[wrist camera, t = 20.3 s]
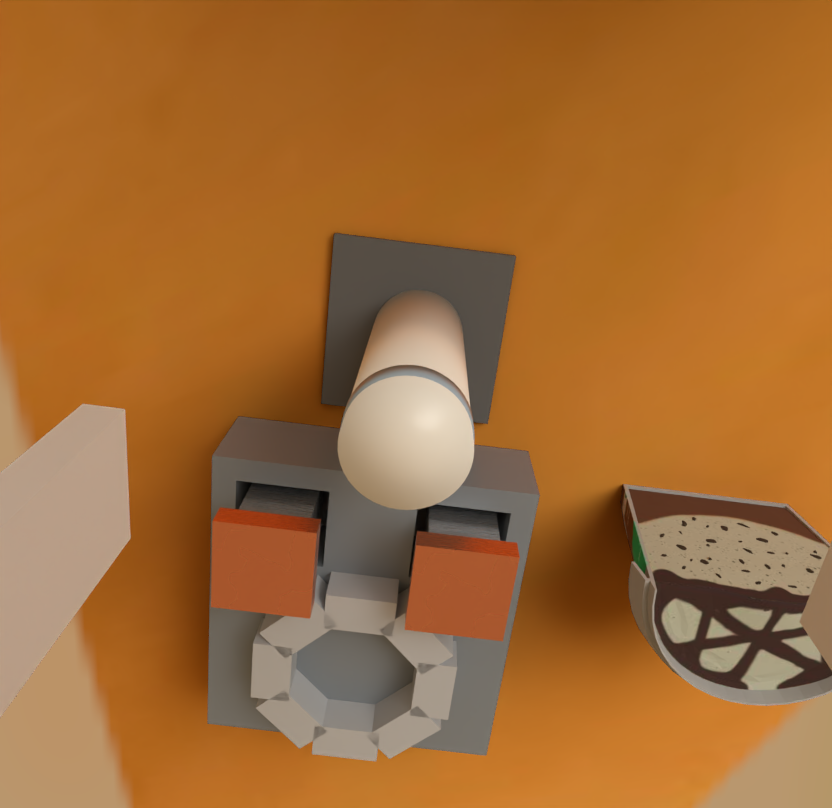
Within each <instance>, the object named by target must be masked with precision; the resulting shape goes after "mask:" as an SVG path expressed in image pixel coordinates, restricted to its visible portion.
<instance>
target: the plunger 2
mask: <svg viewBox="0 0 832 808" xmlns="http://www.w3.org/2000/svg"><path fill="white" fill-rule="evenodd" d="M519 559H520V556H519V551H518V545H517V543H515V542H506V541H500V535H499V528H498V521H497V514H496V512H495V511H487V510H478V509H470V508H461V507H453V506H445V505H436V504H435V505H433V506H429V507H427V512H426V519H425V526H424V532H422V531H417V535H416V542H415V549H414V556H413V564H412V571H411V578H410V585H409V593H408V600H407V607H406V615H405V630H410V631H419V632H427V633H436V634H444V635H453V636H461V637H470V638H479V639H487V640H496V641H503V638H504V633H505V628H506V623H507V618H508V613H509V608H510V603H511V598H512V593H513V588H514V583H515V579H516V574H517V569H518V564H519Z"/></svg>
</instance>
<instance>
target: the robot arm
mask: <svg viewBox="0 0 832 808" xmlns="http://www.w3.org/2000/svg"><path fill="white" fill-rule="evenodd" d="M130 538H131V535H130V512H129V488H128V465H127V441H126V418H125V409H121V408H113V407H105V406H97V405H89V404H82V405H81V406H79V407H78V408H77V409H76V410H75V411H73V412H72V413H71V414H70V415H69V416H67V417H66V418H65V419H64V420H63V421H61V422H60V423H59V424H58V425H57V426H55V427H54V428H53V429H52V430H51V431H49V432H48V433H47V434H46V435H45V436H43V437H42V438H41V439H40V440H39V441H37V442H36V443H35V444H34V445H33V446H31V447H30V448H29V449H28V450H27V451H25V452H24V453H23V454H22V455H21V456H19V457H18V458H17V459H16V460H15V461H14V462H12V463H11V464H10V465H9V466H7V467H6V468H5V469H4V470H3V471H1V472H0V717H1V716H2V715H3V713H4V712H5V710H6V709H7V707H8V706H9V705H10V703H11V702H12V701H13V699H14V698H15V697H16V695H17V694H18V692H19V691H20V690H21V688H22V687H23V686H24V684H25V683H26V681H27V680H28V678H29V677H30V676H31V675H32V673H33V672H34V670H35V669H36V668H37V666H38V665H39V664H40V662H41V661H42V659H43V658H44V657H45V655H46V654H47V652H48V651H49V650H50V648H51V647H52V646H53V644H54V643H55V642H56V640H57V639H58V637H59V636H60V635H61V633H62V632H63V631H64V629H65V628H66V626H67V625H68V624H69V622H70V621H71V620H72V618H73V617H74V615H75V614H76V613H77V611H78V610H79V609H80V607H81V606H82V604H83V603H84V602H85V600H86V599H87V598H88V596H89V595H90V593H91V592H92V591H93V589H94V588H95V587H96V585H97V584H98V582H99V581H100V580H101V578H102V577H103V576H104V574H105V573H106V571H107V570H108V569H109V567H110V566H111V565H112V563H113V562H114V560H115V559H116V558H117V556H118V555H119V554H120V552H121V551H122V549H123V548H124V547H125V545H126V544H127V543H128V541H129V540H130ZM799 622H800V623H801V625H802V626H803V628H804V629H805V631H806V632H807V634H808V635H809V637H810V638H811V640H812V642H813V643H814V645H815V646H816V648H817V649H818V651H819V652H820V654H821V655H822V657H823V658H824V660H825V661H826V663H827V664H828V666H829V667H830V669H831V670H832V542H831V544H830V547H829V549H828V552H827V554H826V557H825V559H824V562H823V564H822V566H821V569H820V571H819V574H818V576H817V579H816V581H815V584H814V586H813V589H812V591H811V594H810V596H809V599H808V601H807V604H806V606H805V609H804V611H803V614H802V616H801V619H800V621H799Z"/></svg>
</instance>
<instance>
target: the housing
mask: <svg viewBox="0 0 832 808" xmlns="http://www.w3.org/2000/svg"><path fill="white" fill-rule="evenodd" d="M339 432H340V428H332V427H324V426H315V425H307V424H299V423H291V422H282V421H274V420H266V419H258V418H249V417H241V416H238V418H237V419H236V421H235V422H234V424H233V425H232V427H231V428H230V430H229V431H228V433H227V434H226V436H225V437H224V439H223V440H222V442H221V443H220V445H219V446H218V448H217V449H216V451H215V452H214V454H213V455H212V493H211V551H210V609H209V667H208V724H216V725H224V726H233V727H242V728H250V729H259V730H268V731H277V732H282V733H283V734H284V735H285V736H286V737H287V738H289V739H290V740H291V741H292V742H293V743H294V744H295V745H296V746H297V747H298V748H299V749H300V748H302V747H303V746H305V745H306V744H308V743H310V742H311V741H313V748H312V754H316V755H324V756H333V757H342V758H351V759H359V760H368V761H376V759H377V752H378V748H379V749H380V750H381V751H382V752H383V753H384V754H385V755H386V756H387V757H388V758H389V759H390V758H392V757H394V756H395V755H397V754H399V753H401V752H402V751H404V750H406V749H408V748H409V747H416V748H425V749H433V750H442V751H451V752H459V753H468V754H477V755H486V754H487V749H488V744H489V740H490V735H491V730H492V725H493V720H494V715H495V710H496V705H497V700H498V696H499V691H500V686H501V681H502V676H503V671H504V666H505V661H506V657H507V652H508V647H509V642H510V637H511V632H512V627H513V622H514V618H515V613H516V608H517V603H518V598H519V593H520V588H521V583H522V578H523V574H524V569H525V564H526V559H527V554H528V549H529V544H530V539H531V535H532V530H533V525H534V520H535V515H536V510H537V505H538V500H539V496H540V495H539V491H538V487H537V483H536V479H535V476H534V472H533V468H532V464H531V460H530V456H529V453H528V451H522V450H514V449H505V448H497V447H489V446H481V445H474V458H473V463H472V466H471V469H470V472H469V474H468V476H467V477H466V479H465V481H464V482H463V483H462V485H461V486H460V487H459V488H458V489H457V490H456V491H455V492H454V493H453V494H452V495H451V496H449V497H448V498H446V499H445V500H443V501H441V502H439V503H437V504H436V505H445V506H453V507H461V508H470V509H478V510H487V511H495V512H496V514H497V521H498V528H499V535H500V541H506V542H515V543H517V545H518V551H519V556H520V559H519V564H518V569H517V574H516V579H515V583H514V588H513V593H512V598H511V603H510V608H509V613H508V618H507V623H506V628H505V633H504V638H503V641H496V640H487V639H479V638H470V637H461V636H453V635H444V634H436V633H427V632H419V631H410V630H405V615H406V607H407V600H408V593H409V585H410V578H411V571H412V564H413V556H414V549H415V542H416V535H417V531H422V532H424V526H425V519H426V512H427V507H426V508H421V509H415V510H400V509H393V508H388V507H385V506H382V505H379V504H377V503H375V502H373V501H371V500H369V499H368V498H366V497H365V496H363V495H362V494H361V493H359V492H358V491H357V490H356V489H355V488H354V487H353V486H352V484H351V483H350V482H349V481H348V479H347V477H346V476H345V474H344V472H343V470H342V467H341V465H340V461H339V457H338V437H339ZM252 482H253V483H261V484H269V485H278V486H286V487H294V488H303V489H311V490H320V491H323V501H322V513H321V526H320V537H319V550H318V562H317V574H316V587H315V599H314V605H313V609H312V613H311V617H310V619H308V618H300V617H291V616H283V615H274V614H266V613H257V612H249V611H240V610H232V609H223V608H215V607H211V574H212V521H213V519H214V517H215V516H216V514H217V512H218V510H219V508H220V507H222V508H230V509H238V510H239V508H240V506H241V504H242V502H243V500H244V498H245V496H246V494H247V492H248V490H249V488H250V486H251V484H252Z"/></svg>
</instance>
